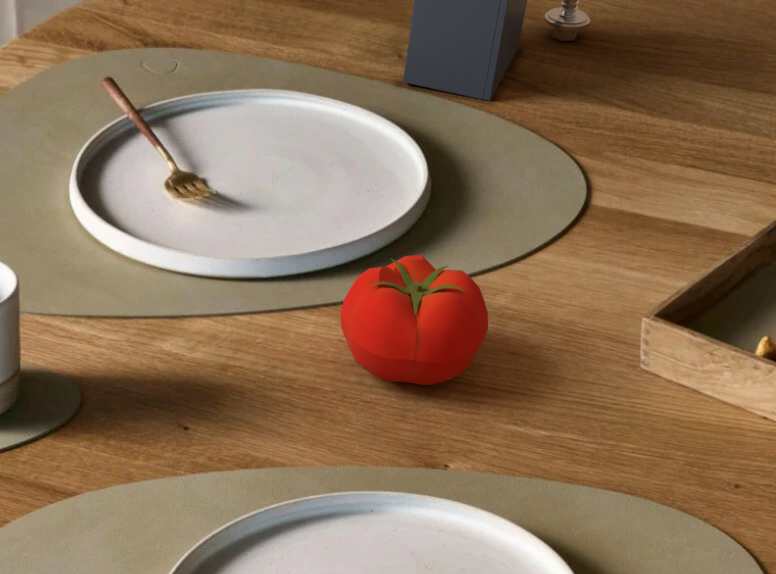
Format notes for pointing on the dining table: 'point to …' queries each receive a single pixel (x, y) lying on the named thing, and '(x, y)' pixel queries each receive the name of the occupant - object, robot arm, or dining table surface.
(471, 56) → the handled storage bin
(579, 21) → the white chess piece
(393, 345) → the tomato
